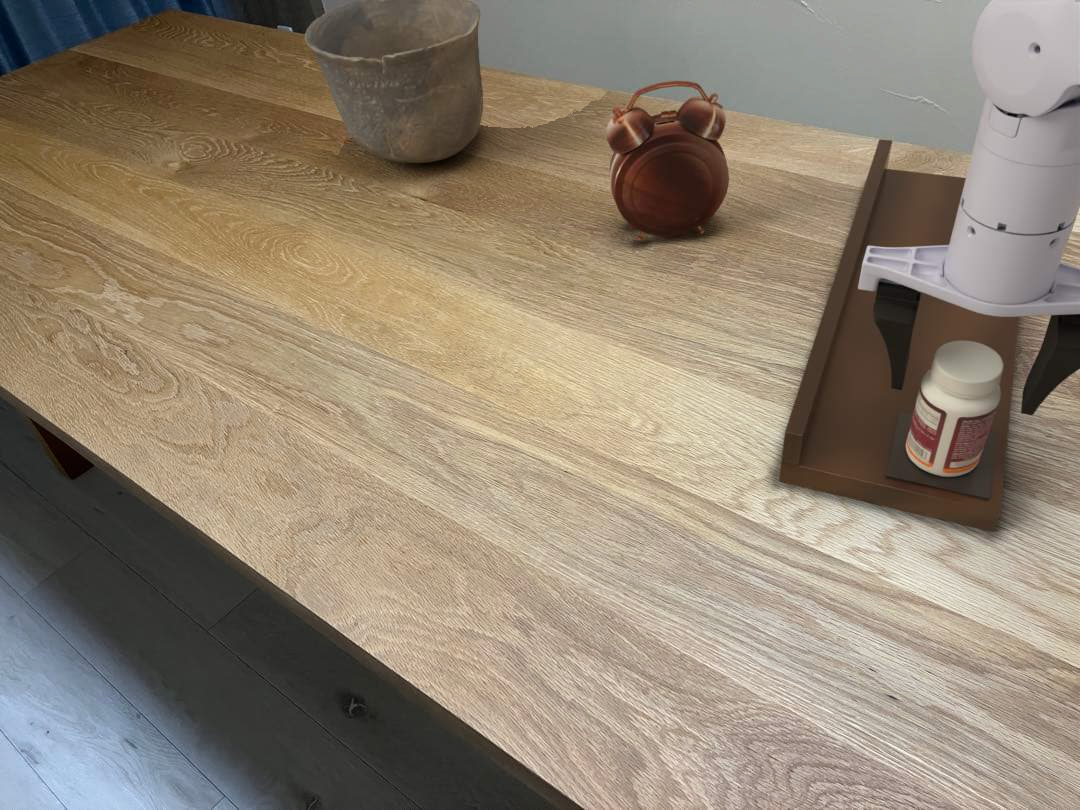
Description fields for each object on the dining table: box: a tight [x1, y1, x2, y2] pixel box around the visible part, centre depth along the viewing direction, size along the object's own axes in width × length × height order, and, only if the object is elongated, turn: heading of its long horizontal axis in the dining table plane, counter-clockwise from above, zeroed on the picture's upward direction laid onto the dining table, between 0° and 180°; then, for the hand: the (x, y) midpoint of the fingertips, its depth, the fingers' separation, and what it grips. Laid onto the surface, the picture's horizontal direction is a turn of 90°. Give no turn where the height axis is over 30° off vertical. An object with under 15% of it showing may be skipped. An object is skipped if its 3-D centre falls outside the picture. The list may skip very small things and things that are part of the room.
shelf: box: [778, 138, 1020, 532], centre depth 74 cm, size 14×41×5 cm, turn 157°
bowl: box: [304, 0, 484, 164], centre depth 99 cm, size 18×18×15 cm
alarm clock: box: [605, 80, 730, 242], centre depth 83 cm, size 11×5×15 cm, turn 94°
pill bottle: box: [906, 341, 1004, 477], centre depth 60 cm, size 5×5×8 cm
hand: (961, 391), depth 58 cm, fingers open, 7 cm apart
